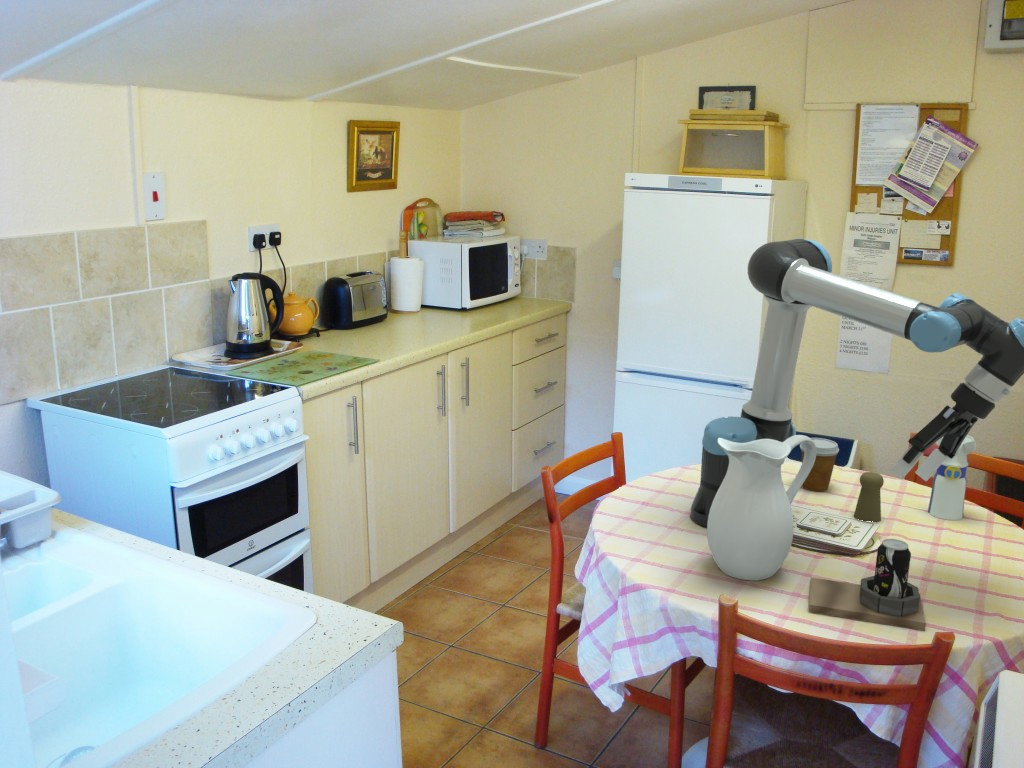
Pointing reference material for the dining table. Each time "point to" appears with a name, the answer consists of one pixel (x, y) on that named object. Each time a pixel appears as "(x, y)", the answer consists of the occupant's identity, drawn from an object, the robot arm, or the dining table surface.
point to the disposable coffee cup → (821, 464)
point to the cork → (869, 497)
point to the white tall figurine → (951, 483)
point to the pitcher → (755, 507)
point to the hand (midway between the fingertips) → (908, 476)
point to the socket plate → (851, 606)
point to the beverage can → (892, 569)
